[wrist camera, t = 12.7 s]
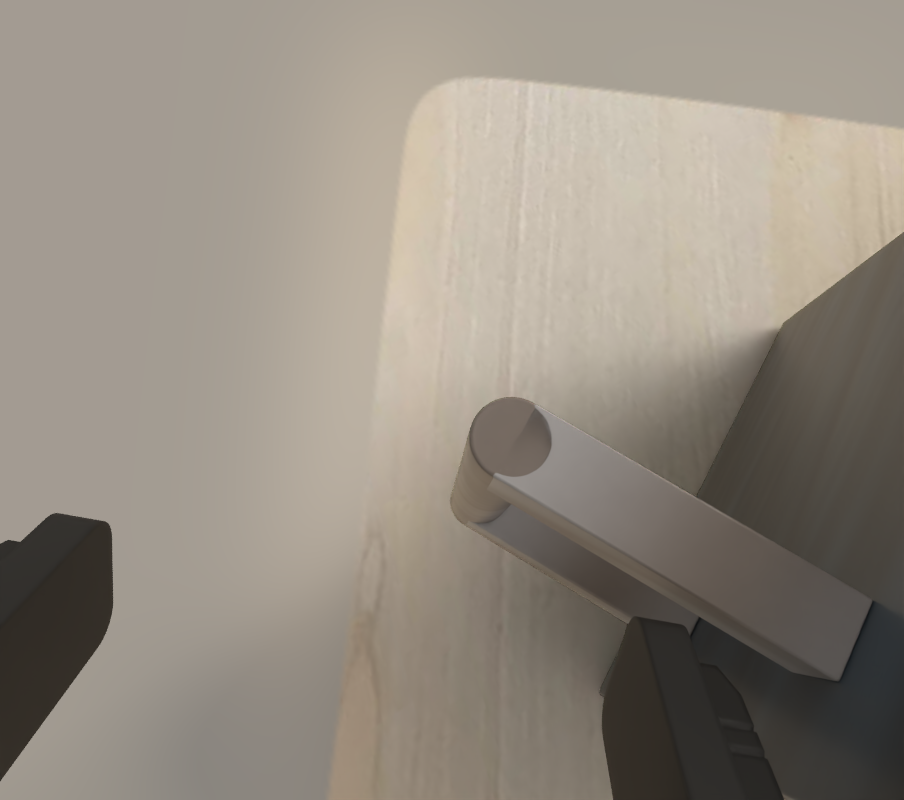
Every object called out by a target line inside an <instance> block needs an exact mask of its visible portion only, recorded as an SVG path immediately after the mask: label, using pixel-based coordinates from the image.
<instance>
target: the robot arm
mask: <svg viewBox="0 0 904 800" xmlns="http://www.w3.org/2000/svg"><path fill="white" fill-rule="evenodd" d="M112 576H113V572H112V533H111V528H110V526H109V524H108V523H107V522H105V521H99V520H93V519H87V518H82V517H76V516H70V515H64V514H59V513H55V514H52V515H50V516H48V517H47V518H46V519H45V520H44V521H43V522H42V523H40V525H38V526H37V527H36V528H35V529H34V530H33V531H32V532H31V533H30V534H29V535H27V536H26V537H25V538H24V539H23V540H22V541H21V542H17V541H11V540H7V541H5V542H3V543H1V544H0V781H1V779H2V778H3V777H4V775H5V774H6V772H7V771H8V770H9V768H10V767H11V766H12V764H13V763H14V761H15V760H16V759H17V757H18V756H19V755H20V753H21V752H22V750H23V749H24V748H25V746H26V745H27V744H28V742H29V741H30V739H31V738H32V736H33V735H34V734H35V733H36V731H37V730H38V729H39V727H40V726H41V724H42V723H43V722H44V720H45V719H46V718H47V716H48V715H49V714H50V712H51V711H52V709H53V708H54V707H55V705H56V704H57V702H58V701H59V700H60V699H61V697H62V696H63V694H64V693H65V692H66V690H67V689H68V688H69V686H70V685H71V683H72V682H73V681H74V679H75V678H76V677H77V675H78V674H79V672H80V671H81V670H82V668H83V667H84V666H85V664H86V663H87V662H88V660H89V659H90V657H91V656H92V655H93V653H94V652H95V650H96V649H97V648H98V646H99V645H100V643H101V641H102V640H103V638H104V635H105V634H106V631H107V628H108V625H109V623H110V619H111V615H112V608H113V577H112ZM602 732H603V740H604V746H605V752H606V758H607V764H608V770H609V776H610V782H611V788H612V794H613V800H784V798H783V795H782V793H781V790H780V788H779V785H778V783H777V780H776V778H775V776H774V773H773V771H772V768H771V766H770V763H769V761H768V759H766V758H765V757H764V753H765V751H764V749H763V746H762V744H761V741H760V739H759V737H758V734H757V732H754V724H753V722H752V720H751V717H750V715H749V712H748V710H747V707H746V705H745V702H744V700H743V698H742V695H741V694H740V693H739V691H738V690H737V689H736V688H735V687H734V685H733V684H732V683H731V682H730V681H729V680H728V678H727V677H726V676H725V675H724V674H723V673H722V671H721V670H720V669H719V668H718V667H717V666H716V665H710V664H704V663H699V660H698V657H697V655H696V652H695V649H694V646H693V643H692V641H691V638H690V635H689V632H688V630H687V628H686V627H685V626H684V625H682V624H677V623H671V622H666V621H660V620H654V619H649V618H643V617H637V616H634V617H633V618H632V619H631V620H630V622H629V624H628V626H627V629H626V632H625V635H624V638H623V641H622V644H621V647H620V650H619V653H618V656H617V659H616V662H615V665H614V668H613V671H612V674H611V677H610V680H609V683H608V686H607V689H606V693H605V697H604V703H603V712H602Z"/></svg>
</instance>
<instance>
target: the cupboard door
mask: <svg viewBox="0 0 904 800" xmlns="http://www.w3.org/2000/svg"><path fill="white" fill-rule="evenodd" d="M450 504H451V509H452V512H453V514H454V516H455V517H456V518H457V520H458V521H460V522H461V523H462V524H464V525H466V526H467V527H469V528H470V529H472V530H473V531H475V532H477V533H478V534H480V535H482V536H483V537H485V538H487V539H488V540H490V541H492V542H493V543H495V544H497V545H498V546H500V547H502V548H503V549H505V550H506V551H508V552H510V553H511V554H513V555H515V556H516V557H518V558H520V559H521V560H523V561H525V562H526V563H528V564H530V565H531V566H533V567H534V568H536V569H538V570H539V571H541V572H543V573H544V574H546V575H548V576H549V577H551V578H553V579H554V580H556V581H558V582H559V583H561V584H562V585H564V586H566V587H567V588H569V589H571V590H572V591H574V592H576V593H577V594H579V595H581V596H582V597H584V598H586V599H587V600H589V601H591V602H592V603H594V604H595V605H597V606H599V607H600V608H602V609H604V610H605V611H607V612H609V613H610V614H612V615H614V616H615V617H617V618H619V619H620V620H622V621H623V622H625V623H627V624H629V622H630V620H631V619H632V618H633V617H634V616H637V617H643V618H649V619H654V620H660V621H666V622H671V623H677V624H682V625H684V626H685V627H686V628H687V630H688V632H689V635H690V638H691V641H692V643H693V646H694V649H695V652H696V655H697V657H698V660H699V663H704V664H710V665H716V666H717V667H718V668H719V669H720V670H721V671H722V673H723V674H724V675H725V676H726V677H727V678H728V680H729V681H730V682H731V683H732V684H733V685H734V687H735V688H736V689H737V690H738V691H739V693H740V694H741V695H742V698H743V700H744V702H745V705H746V707H747V710H748V712H749V715H750V717H751V720H752V722H753V724H754V732H757V734H758V737H759V739H760V741H761V744H762V746H763V749H764V751H765V753H764V757H765V758H766V759H768V761H769V763H770V766H771V768H772V771H773V773H774V776H775V778H776V780H777V783H778V785H779V788H780V790H781V793H782V795H783V798H784V799H785V800H904V232H903V233H902V234H901V235H899V236H898V237H897V238H895V239H894V240H893V241H891V242H890V243H889V244H887V245H886V246H885V247H883V248H882V249H881V250H879V251H878V252H877V253H875V254H874V255H873V256H872V257H870V258H869V259H868V260H866V261H865V262H864V263H862V264H861V265H860V266H858V267H857V268H856V269H854V270H853V271H852V272H850V273H849V274H848V275H846V276H845V277H844V278H842V279H841V280H840V281H838V282H837V283H836V284H835V285H833V286H832V287H831V288H829V289H828V290H827V291H825V292H824V293H823V294H821V295H820V296H819V297H817V298H816V299H815V300H813V301H812V302H811V303H809V304H808V305H807V306H805V307H804V308H803V309H801V310H800V311H799V312H798V313H796V314H795V315H794V316H792V317H791V318H790V319H788V320H787V321H786V322H784V323H783V325H782V327H781V329H780V331H779V333H778V335H777V337H776V339H775V341H774V343H773V345H772V347H771V349H770V351H769V353H768V355H767V357H766V359H765V361H764V363H763V365H762V367H761V369H760V371H759V373H758V375H757V377H756V379H755V381H754V383H753V385H752V387H751V389H750V391H749V393H748V395H747V397H746V399H745V401H744V403H743V405H742V407H741V409H740V411H739V413H738V415H737V417H736V419H735V421H734V423H733V425H732V427H731V429H730V431H729V433H728V435H727V437H726V439H725V441H724V443H723V445H722V447H721V449H720V451H719V453H718V455H717V457H716V459H715V461H714V463H713V465H712V467H711V469H710V471H709V473H708V475H707V477H706V479H705V481H704V483H703V485H702V487H701V489H700V491H699V493H698V495H697V497H696V496H694V495H692V494H690V493H689V492H687V491H685V490H683V489H682V488H680V487H678V486H677V485H675V484H673V483H671V482H670V481H668V480H666V479H664V478H663V477H661V476H659V475H658V474H656V473H654V472H652V471H651V470H649V469H647V468H646V467H644V466H642V465H640V464H639V463H637V462H635V461H633V460H632V459H630V458H628V457H627V456H625V455H623V454H621V453H620V452H618V451H616V450H614V449H613V448H611V447H609V446H608V445H606V444H604V443H602V442H601V441H599V440H597V439H596V438H594V437H592V436H590V435H589V434H587V433H585V432H583V431H582V430H580V429H578V428H577V427H575V426H573V425H571V424H570V423H568V422H566V421H564V420H563V419H561V418H559V417H558V416H556V415H554V414H552V413H551V412H549V411H547V410H546V409H544V408H542V407H540V406H539V405H536V404H534V403H532V402H530V401H528V400H525V399H522V398H517V397H506V398H500V399H497V400H495V401H492V402H490V403H489V404H487V405H486V406H485V407H483V408H482V409H481V410H480V411H479V412H478V414H477V415H476V417H475V418H474V420H473V422H472V425H471V428H470V431H469V435H468V438H467V442H466V445H465V449H464V452H463V456H462V459H461V462H460V466H459V469H458V473H457V476H456V480H455V483H454V487H453V490H452V494H451V499H450ZM618 653H619V652H618ZM617 656H618V654H617ZM617 656H616V658H615V660H614V662H613V664H612V666H611V668H610V670H609V672H608V674H607V676H606V678H605V680H604V682H603V684H602V686H601V688H600V690H599V694H600V695H601V696H603V697H605V693H606V689H607V686H608V683H609V680H610V677H611V674H612V671H613V668H614V665H615V662H616V659H617Z"/></svg>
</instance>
